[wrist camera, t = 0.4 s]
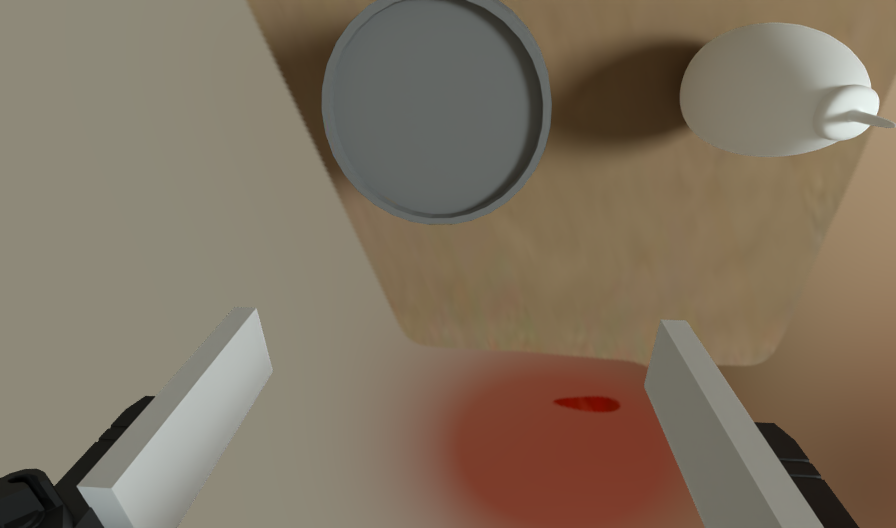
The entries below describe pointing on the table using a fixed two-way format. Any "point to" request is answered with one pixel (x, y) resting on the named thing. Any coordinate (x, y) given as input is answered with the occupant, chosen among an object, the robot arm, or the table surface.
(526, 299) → the table surface
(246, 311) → the robot arm
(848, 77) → the sauce bottle
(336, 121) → the reusable coffee cup
